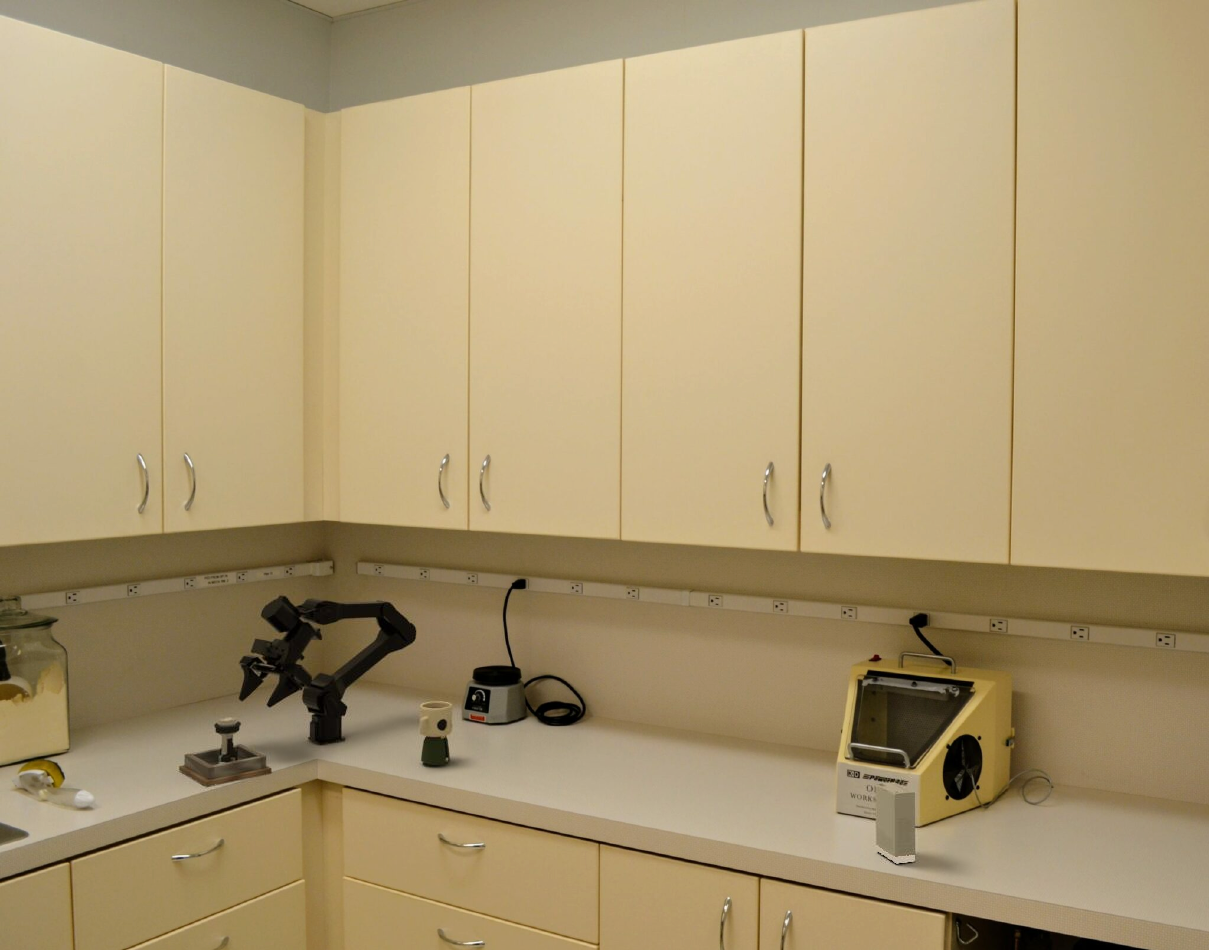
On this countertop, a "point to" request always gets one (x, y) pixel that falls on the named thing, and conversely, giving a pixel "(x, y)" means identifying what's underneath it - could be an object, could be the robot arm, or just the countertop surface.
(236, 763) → the tray
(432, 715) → the character mug
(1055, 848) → the countertop surface
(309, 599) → the robot arm
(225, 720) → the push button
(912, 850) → the skincare box
